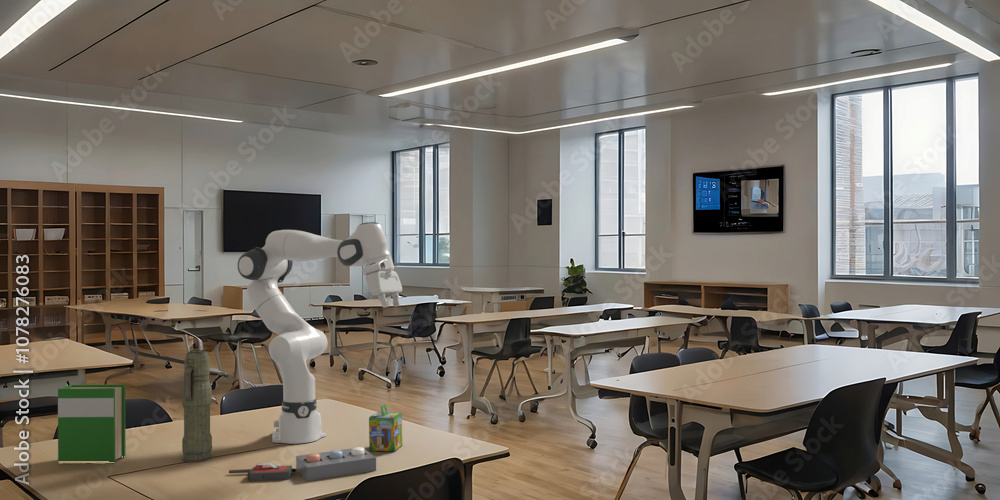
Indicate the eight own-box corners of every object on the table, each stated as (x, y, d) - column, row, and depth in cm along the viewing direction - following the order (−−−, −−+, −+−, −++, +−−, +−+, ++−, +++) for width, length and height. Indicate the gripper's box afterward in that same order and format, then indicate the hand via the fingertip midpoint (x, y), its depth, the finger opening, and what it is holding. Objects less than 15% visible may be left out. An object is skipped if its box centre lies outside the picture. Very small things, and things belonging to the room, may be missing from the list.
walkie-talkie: (297, 472, 222) (229, 475, 220) (297, 457, 222) (229, 460, 220) (292, 481, 214) (222, 484, 211) (292, 466, 214) (222, 469, 211)
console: (296, 468, 225) (296, 455, 225) (361, 459, 235) (361, 447, 235) (307, 481, 212) (307, 467, 212) (376, 470, 222) (376, 457, 222)
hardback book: (125, 457, 239) (125, 384, 239) (113, 463, 231) (113, 388, 231) (71, 457, 238) (71, 384, 239) (58, 464, 231) (58, 388, 231)
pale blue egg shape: (327, 460, 224) (327, 451, 224) (340, 459, 226) (340, 449, 226) (331, 464, 221) (331, 454, 221) (344, 462, 223) (344, 452, 223)
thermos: (175, 463, 231) (174, 353, 231) (191, 453, 243) (191, 348, 243) (202, 463, 231) (202, 353, 231) (218, 453, 243) (217, 348, 243)
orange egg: (304, 464, 221) (304, 454, 221) (318, 462, 223) (318, 452, 223) (308, 467, 217) (308, 457, 217) (321, 465, 219) (321, 455, 219)
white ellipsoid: (349, 457, 228) (349, 448, 228) (362, 456, 230) (362, 446, 230) (353, 460, 224) (353, 451, 224) (366, 459, 226) (366, 449, 226)
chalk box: (394, 452, 243) (394, 408, 243) (368, 451, 245) (368, 407, 245) (403, 445, 252) (403, 402, 252) (378, 444, 254) (378, 401, 254)
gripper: (384, 270, 257) (394, 308, 255) (359, 269, 237) (370, 310, 235) (400, 265, 255) (411, 302, 254) (376, 264, 235) (388, 305, 234)
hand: (391, 306), depth 244 cm, fingers open, 8 cm apart
